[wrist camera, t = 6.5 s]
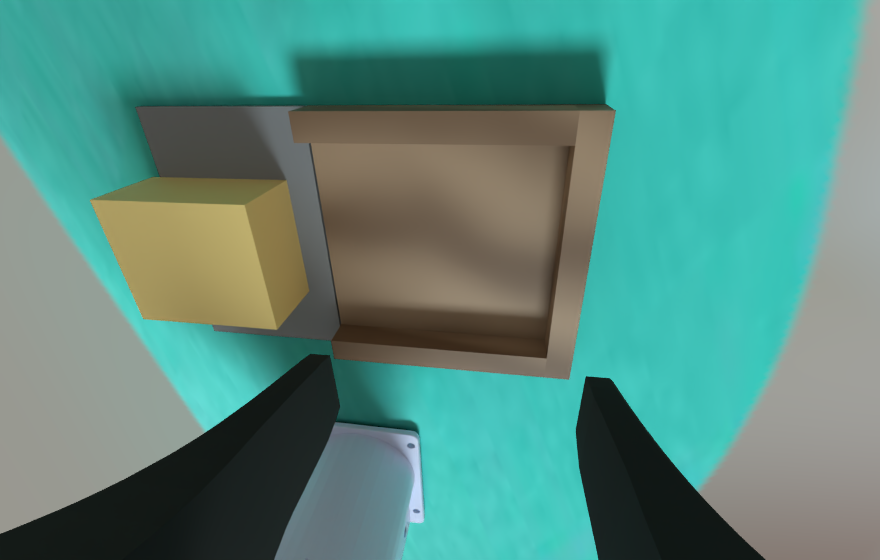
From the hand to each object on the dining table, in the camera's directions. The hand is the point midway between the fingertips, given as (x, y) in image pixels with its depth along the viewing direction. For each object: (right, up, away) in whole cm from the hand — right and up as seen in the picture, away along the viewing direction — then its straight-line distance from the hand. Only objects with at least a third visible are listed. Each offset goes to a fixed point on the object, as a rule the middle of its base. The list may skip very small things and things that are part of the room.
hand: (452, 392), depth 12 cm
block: (-11, +5, +9) cm, 15 cm away
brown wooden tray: (0, +5, +8) cm, 10 cm away
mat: (-10, +6, +10) cm, 15 cm away
